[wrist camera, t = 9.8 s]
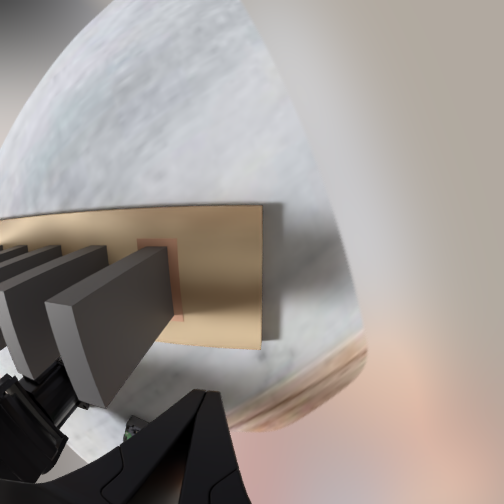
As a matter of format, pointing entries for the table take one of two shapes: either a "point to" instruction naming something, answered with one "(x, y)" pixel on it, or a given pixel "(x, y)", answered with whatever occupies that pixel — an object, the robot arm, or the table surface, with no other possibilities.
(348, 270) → the table surface
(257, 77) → the table surface
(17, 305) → the domino
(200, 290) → the board
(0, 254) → the domino
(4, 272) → the domino
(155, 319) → the domino
